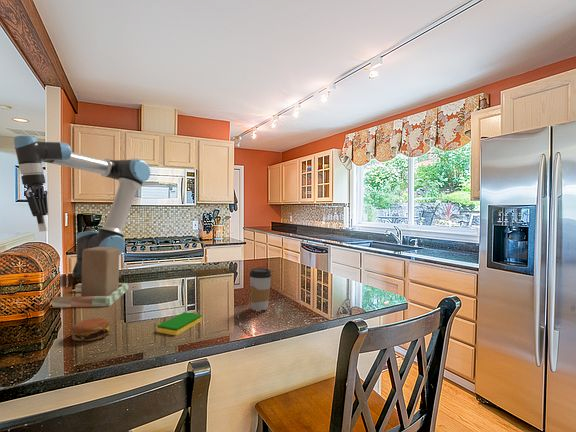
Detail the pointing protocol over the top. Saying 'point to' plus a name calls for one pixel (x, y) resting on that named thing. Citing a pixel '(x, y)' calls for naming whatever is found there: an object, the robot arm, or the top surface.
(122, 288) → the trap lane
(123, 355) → the top surface
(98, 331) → the burger
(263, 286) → the coffee cup
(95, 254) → the block
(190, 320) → the dish sponge
